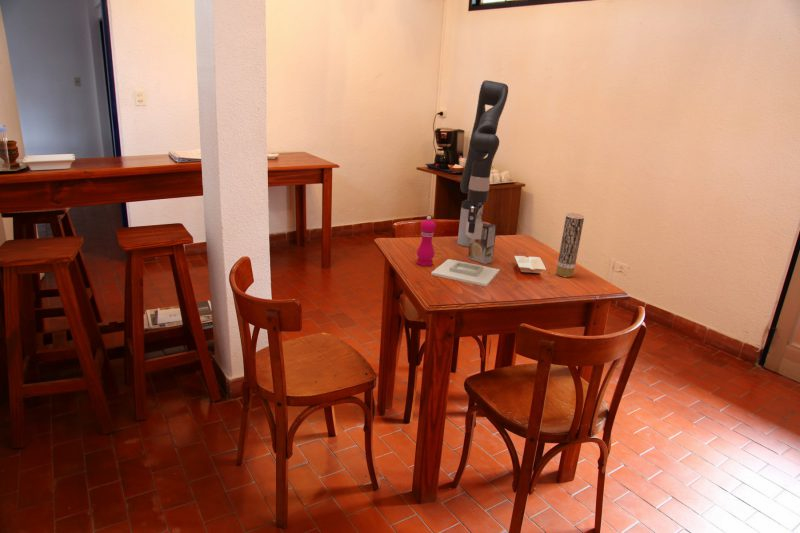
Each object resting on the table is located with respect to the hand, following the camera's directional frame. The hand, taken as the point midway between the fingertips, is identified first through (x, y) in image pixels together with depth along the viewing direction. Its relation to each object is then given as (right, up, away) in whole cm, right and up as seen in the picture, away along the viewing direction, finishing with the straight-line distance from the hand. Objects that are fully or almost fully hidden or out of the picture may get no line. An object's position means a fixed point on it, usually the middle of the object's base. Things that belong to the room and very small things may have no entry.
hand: (473, 230), depth 206 cm
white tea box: (0, -3, +1) cm, 3 cm away
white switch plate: (-2, -17, +6) cm, 18 cm away
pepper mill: (-18, -13, +13) cm, 26 cm away
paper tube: (+39, -18, +12) cm, 44 cm away
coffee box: (+6, -11, +23) cm, 27 cm away
